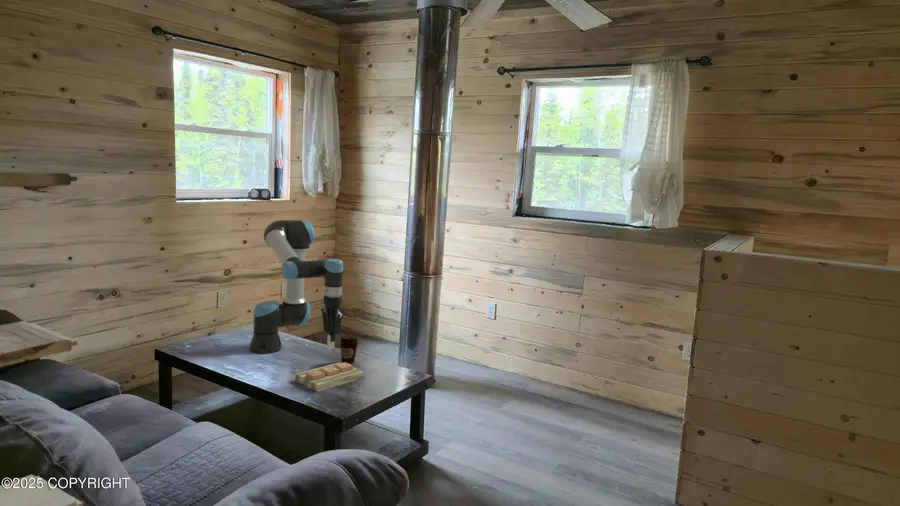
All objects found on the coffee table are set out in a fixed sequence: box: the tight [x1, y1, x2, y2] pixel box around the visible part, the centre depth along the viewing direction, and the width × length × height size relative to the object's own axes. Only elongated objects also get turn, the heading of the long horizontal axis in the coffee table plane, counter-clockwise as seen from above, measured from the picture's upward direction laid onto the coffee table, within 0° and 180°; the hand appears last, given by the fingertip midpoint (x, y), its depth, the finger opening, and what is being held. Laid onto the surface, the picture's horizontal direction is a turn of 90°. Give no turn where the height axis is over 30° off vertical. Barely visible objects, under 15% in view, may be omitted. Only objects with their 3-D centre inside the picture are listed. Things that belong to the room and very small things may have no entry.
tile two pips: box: [321, 366, 339, 377], centre depth 241 cm, size 6×6×5 cm
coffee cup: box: [339, 334, 359, 366], centre depth 262 cm, size 9×8×13 cm
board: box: [294, 361, 364, 393], centre depth 242 cm, size 16×24×3 cm, turn 139°
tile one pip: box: [306, 370, 325, 381], centre depth 236 cm, size 6×6×5 cm
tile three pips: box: [335, 362, 354, 373], centre depth 247 cm, size 6×6×5 cm
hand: (330, 348), depth 240 cm, fingers closed
